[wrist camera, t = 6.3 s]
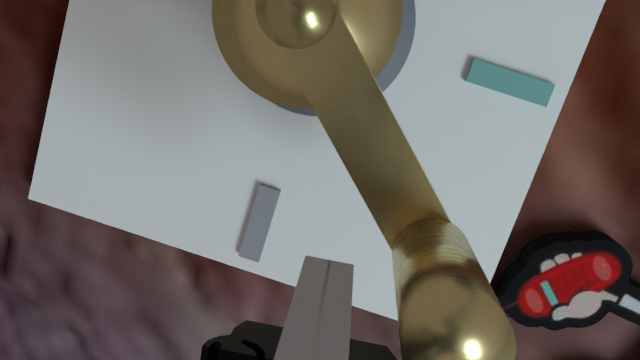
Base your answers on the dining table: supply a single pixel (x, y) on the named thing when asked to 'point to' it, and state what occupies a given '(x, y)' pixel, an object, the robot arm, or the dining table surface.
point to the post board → (299, 133)
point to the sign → (569, 282)
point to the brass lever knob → (371, 158)
